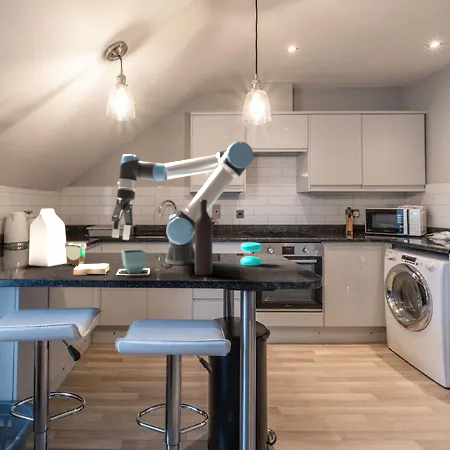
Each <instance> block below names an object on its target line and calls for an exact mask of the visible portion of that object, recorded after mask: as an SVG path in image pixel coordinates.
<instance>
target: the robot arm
mask: <svg viewBox="0 0 450 450" xmlns="http://www.w3.org/2000/svg"><path fill="white" fill-rule="evenodd" d="M253 159H254V152H253V148H252V147H251V146H250V144H248V143H247V142H244V141H235V142H233V143H231V144H230V145H229V146H228V148H227V149H225V150H223V151H218V152H217V153H216V154H214V155H213V154H212V155H208V156H201V157H194V158H190V159H183V160H180V161H172V162H167V163H159V162H151V161H141V160H140V157H139V156H137V155H135V154H129V153H128V154H123V155H122V157H121V161H120V164H119V165H120V169H119V174H118V175H119V177H118V182H117V186H118V187H117V189H118V190H117V191H116V192H117V193H116V198H117V199H116V203H115V208H114V209H113V212H112V213H113V214H112V215H111V219H110V220H111V222H113V224H112V232H111V233H112V234H111V238H117V239H119V238H120V230H121V219H122V217H124V218H123V219H124V225H123V233H122V240H125V241H129V240H130V235H131V227H132V226H133V225H134V223H133V203H131V201H134V200H135V196H136V189H137V180H138V179H143V180H150V181H151V182H153V183H159V182H162V181H167V180H172V179H177V178H183V177H188V176H194V175H202V174H205V173H206V174H207V173H211V172H212V174H211V175H210V177H209V178H207V181H206V182H205V183H204V184H203V186H202V187H201V188H200V189H199V191H198V192H197V193H196V195H194V197H193V198H192V199H191V200H190V202H189V203H188V205H187V206H186V207H185V208H180V209H179V211H178V212H177V213H176V214H171V215H169V217H168V218H169V219H168V223H167V225H166V228H165V229H166V236H167V238H168V242H169V246H168V250H167V253H166V257H165V264H168V265H178V266H179V265H182V266H183V265H195V245H194V236H195V222H196V219H197V217H198V215H199V213H200V200H207V213H209V210H210V209H211V208H212V207H213V206H214V205H215V203H216V202H217V200H218V199H219V198H220V196H221V195H222V194H223V193H224V191H225V190H226V189H227V188H228V186H229V185H230V184H231V182H233V180H234V179H239V178H240V176H241V175H242V174H243V173H244V171H245V170H246V169H247V168H248V167H249V166H250V165H251V163H252V162H253Z"/></svg>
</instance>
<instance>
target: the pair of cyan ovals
mask: <svg viewBox="0 0 450 450" xmlns="http://www.w3.org/2000/svg"><path fill="white" fill-rule="evenodd" d="M240 248H241V250H242V251H244V252H247V253H248V252H249V253H253V252H254V253H255V252H259V251H261V250H262V249H263V245H262V244H261V243H259V242H243V243H241V245H240ZM240 264H241V265H243V266H247V267H257V266H260V265H262V264H263V260H262V259H261V258H260V257H258V256H251V255H250V256H244V257H242V258H241V259H240Z"/></svg>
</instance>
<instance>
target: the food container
mask: <svg viewBox="0 0 450 450" xmlns="http://www.w3.org/2000/svg"><path fill="white" fill-rule="evenodd" d="M64 247H65V250H66V262H67V263H66V265H69V264H72V265H71V266H77V265H80V264H85V255H86V249H87V244H86V242H83V241H82V242H80V241H79V242H77V241H76V242H72V241H71V242H66V243H65V246H64Z"/></svg>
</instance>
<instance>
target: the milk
mask: <svg viewBox="0 0 450 450" xmlns="http://www.w3.org/2000/svg"><path fill="white" fill-rule="evenodd" d="M65 226H66V225H65V223H64V222H63V221H62V219H60V217H58V215H56V212H55V210H54V208H41V210H40V212H39V215H38V216H36V217H35V219H33V221H32V222H31V224H30V225H29V249H28V250H29V251H28V252H29V253H28V254H29V256H28V265H29V266H37V267H38V266H39V267H53V266H58V265H63V264H64V265H65V264H67V262H66V250H65V247H64V246H65V243H67V237H66V227H65Z"/></svg>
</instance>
